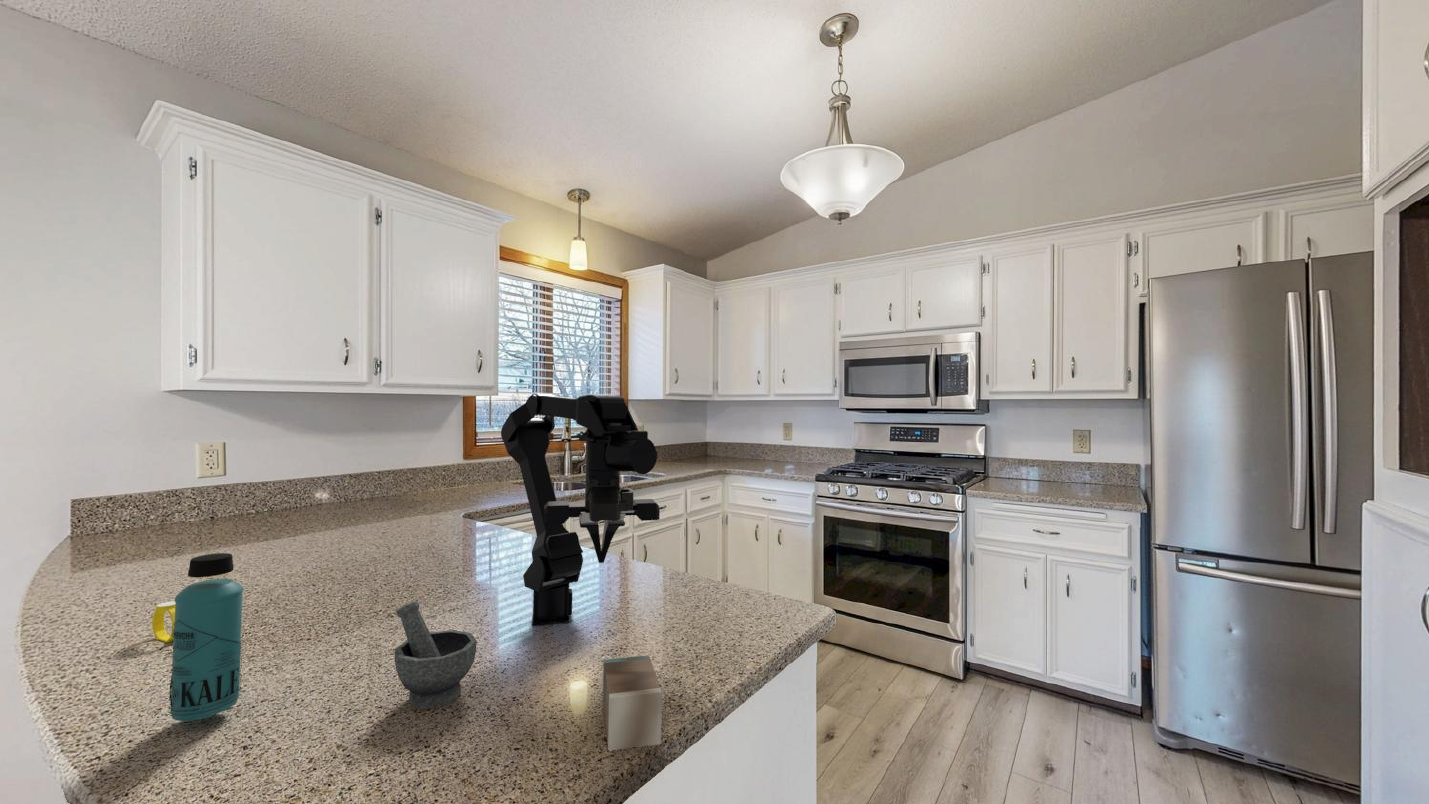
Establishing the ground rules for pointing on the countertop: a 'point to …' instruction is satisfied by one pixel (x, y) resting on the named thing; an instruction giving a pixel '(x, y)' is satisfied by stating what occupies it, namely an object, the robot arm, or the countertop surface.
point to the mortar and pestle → (432, 660)
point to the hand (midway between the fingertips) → (601, 562)
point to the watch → (159, 621)
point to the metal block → (631, 703)
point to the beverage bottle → (206, 641)
